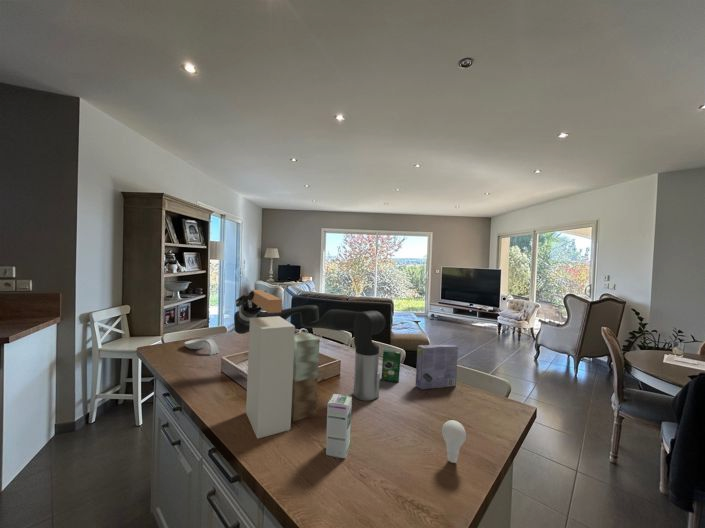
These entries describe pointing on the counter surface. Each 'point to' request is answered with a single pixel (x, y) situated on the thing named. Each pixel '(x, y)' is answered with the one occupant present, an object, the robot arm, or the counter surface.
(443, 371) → the cake pan box
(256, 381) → the stand
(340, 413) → the syrup box
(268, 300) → the bar
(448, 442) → the lightbulb
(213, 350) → the spoon rest
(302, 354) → the tower
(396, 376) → the coffee box
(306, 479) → the counter surface
